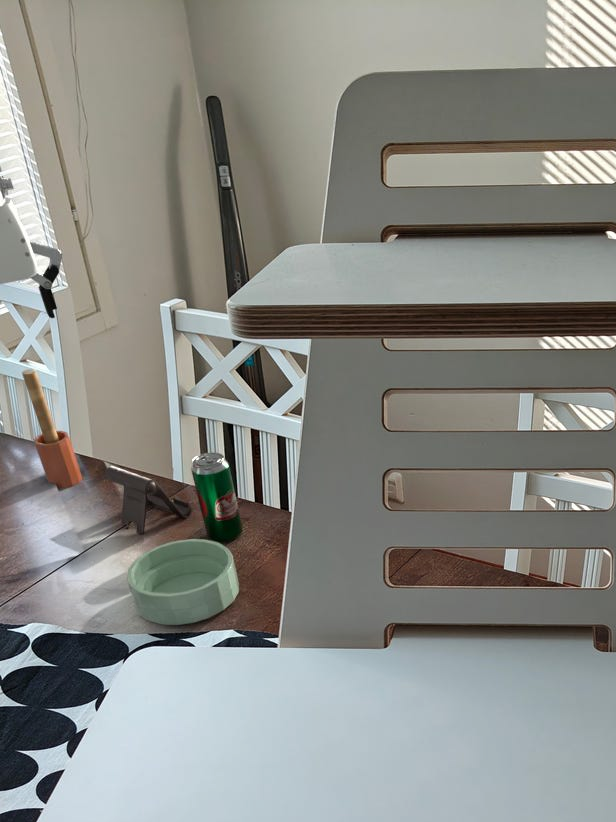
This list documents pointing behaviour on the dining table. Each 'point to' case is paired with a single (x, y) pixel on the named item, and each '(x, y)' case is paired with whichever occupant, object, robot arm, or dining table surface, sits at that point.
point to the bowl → (183, 581)
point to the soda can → (216, 497)
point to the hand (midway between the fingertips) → (16, 322)
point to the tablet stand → (143, 497)
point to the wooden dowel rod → (40, 406)
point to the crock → (59, 461)
